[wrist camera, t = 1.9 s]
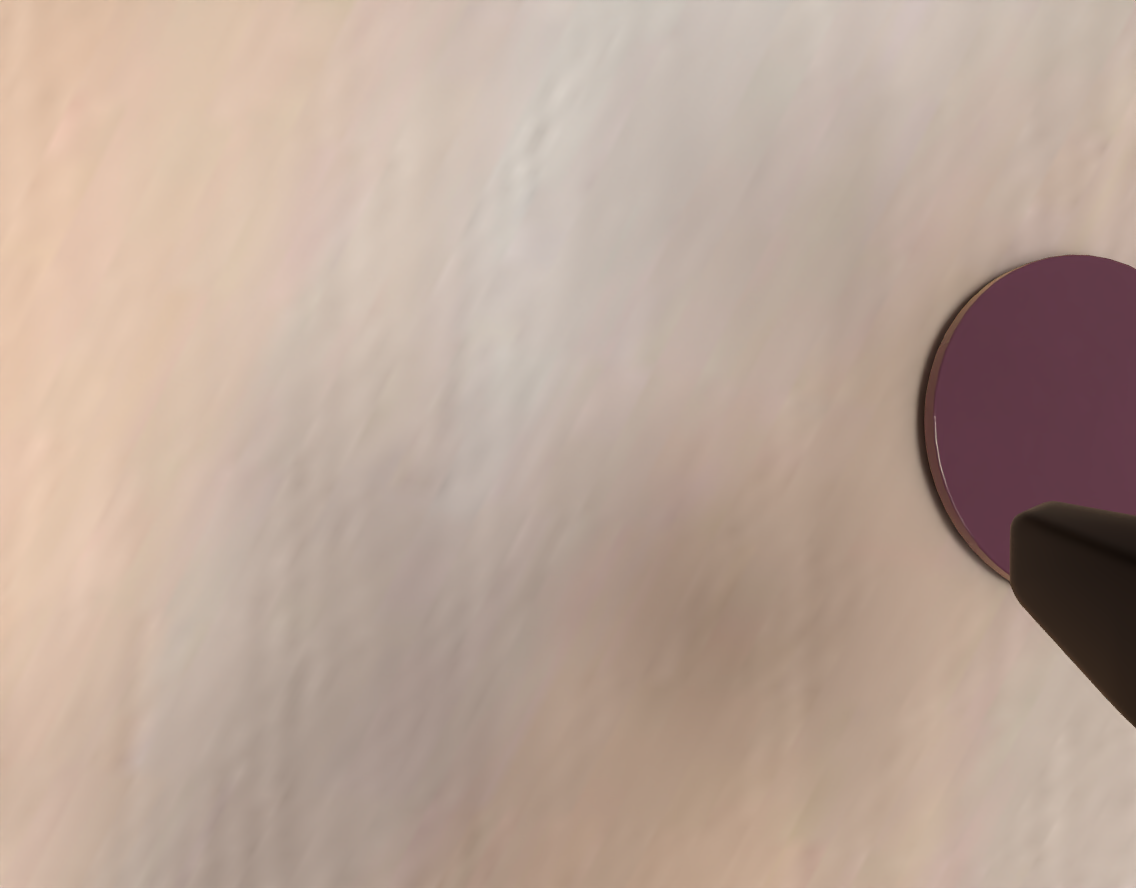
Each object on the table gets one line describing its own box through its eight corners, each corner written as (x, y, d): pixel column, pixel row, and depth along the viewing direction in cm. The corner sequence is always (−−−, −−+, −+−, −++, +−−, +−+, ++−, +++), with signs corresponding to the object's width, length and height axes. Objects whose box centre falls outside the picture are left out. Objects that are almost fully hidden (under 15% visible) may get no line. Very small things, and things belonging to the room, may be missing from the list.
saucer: (1072, 674, 28) (1093, 679, 27) (849, 416, 27) (864, 413, 26) (1270, 441, 30) (1295, 439, 29) (1069, 193, 29) (1089, 184, 28)
